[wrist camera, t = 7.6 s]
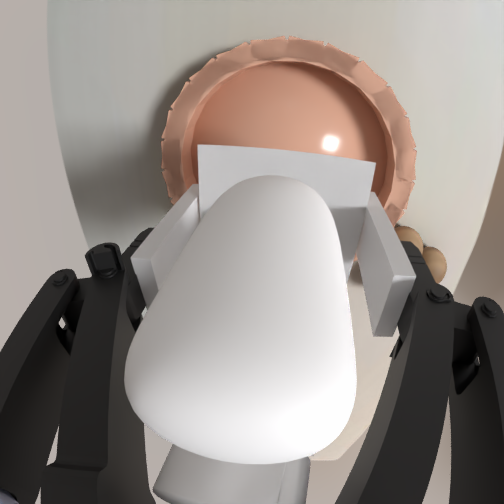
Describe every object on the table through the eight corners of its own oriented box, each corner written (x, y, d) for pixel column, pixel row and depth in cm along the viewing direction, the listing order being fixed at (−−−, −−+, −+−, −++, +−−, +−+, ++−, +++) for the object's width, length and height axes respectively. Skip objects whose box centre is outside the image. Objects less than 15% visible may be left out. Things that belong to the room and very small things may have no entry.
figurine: (221, 259, 19) (131, 500, 7) (220, 108, 14) (-80, 332, 1) (333, 273, 18) (337, 533, 6) (362, 122, 13) (584, 434, 1)
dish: (165, 51, 18) (148, 49, 16) (413, 56, 15) (427, 54, 13) (189, 252, 28) (179, 270, 26) (383, 264, 26) (390, 283, 23)
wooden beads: (383, 216, 23) (393, 239, 20) (448, 223, 22) (464, 245, 19) (367, 283, 27) (373, 309, 24) (427, 285, 26) (437, 309, 23)
